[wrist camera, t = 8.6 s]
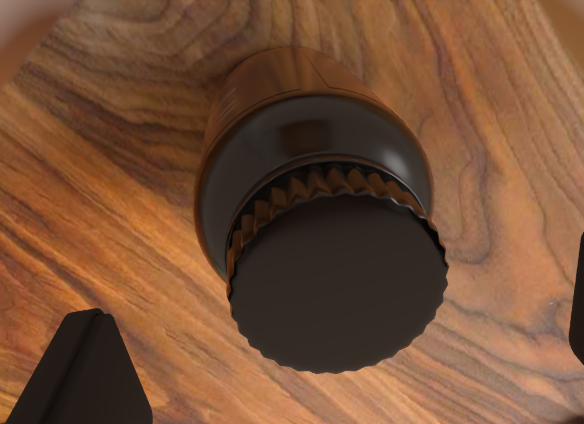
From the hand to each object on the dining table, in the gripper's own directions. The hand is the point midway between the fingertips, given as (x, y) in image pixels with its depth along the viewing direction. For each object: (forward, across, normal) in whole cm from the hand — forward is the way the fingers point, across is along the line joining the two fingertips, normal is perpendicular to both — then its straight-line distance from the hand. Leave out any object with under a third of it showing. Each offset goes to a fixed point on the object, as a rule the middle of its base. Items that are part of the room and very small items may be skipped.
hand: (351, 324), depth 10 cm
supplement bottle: (+13, 0, 0) cm, 13 cm away
